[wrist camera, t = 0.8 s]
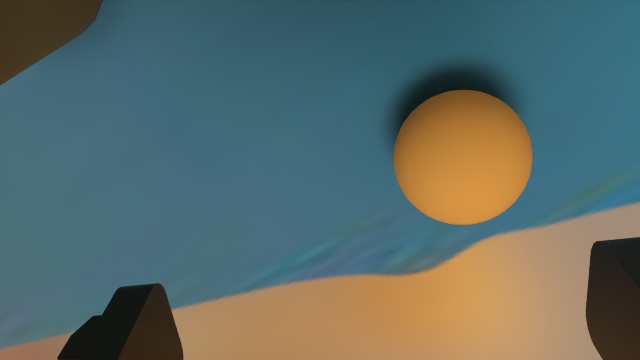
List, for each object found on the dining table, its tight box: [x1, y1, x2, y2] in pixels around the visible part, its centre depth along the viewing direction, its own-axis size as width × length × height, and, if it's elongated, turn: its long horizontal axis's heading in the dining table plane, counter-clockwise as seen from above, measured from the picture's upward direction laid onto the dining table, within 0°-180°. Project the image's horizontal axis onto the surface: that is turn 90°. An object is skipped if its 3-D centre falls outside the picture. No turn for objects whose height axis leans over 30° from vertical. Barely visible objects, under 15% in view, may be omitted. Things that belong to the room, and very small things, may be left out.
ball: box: [394, 90, 532, 225], centre depth 25 cm, size 6×6×6 cm
